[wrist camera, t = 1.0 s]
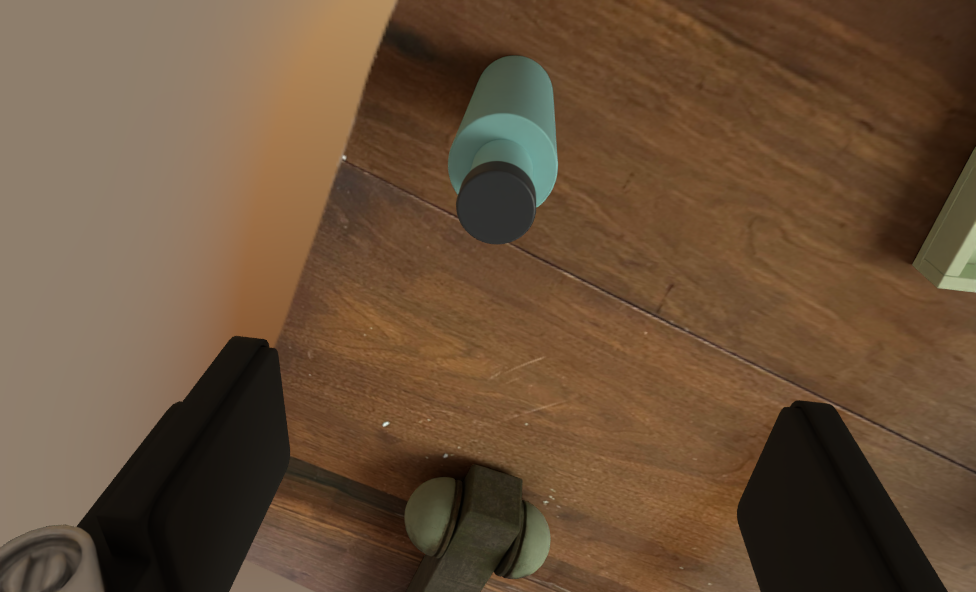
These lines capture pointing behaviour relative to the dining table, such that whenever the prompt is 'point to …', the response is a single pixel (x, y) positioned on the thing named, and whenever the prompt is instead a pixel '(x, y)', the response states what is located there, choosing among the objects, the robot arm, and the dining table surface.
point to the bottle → (505, 151)
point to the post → (474, 531)
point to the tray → (953, 238)
